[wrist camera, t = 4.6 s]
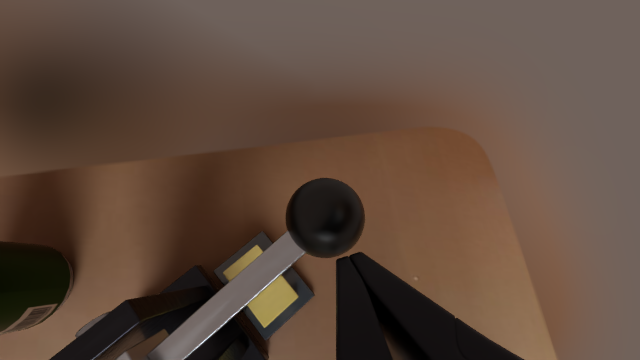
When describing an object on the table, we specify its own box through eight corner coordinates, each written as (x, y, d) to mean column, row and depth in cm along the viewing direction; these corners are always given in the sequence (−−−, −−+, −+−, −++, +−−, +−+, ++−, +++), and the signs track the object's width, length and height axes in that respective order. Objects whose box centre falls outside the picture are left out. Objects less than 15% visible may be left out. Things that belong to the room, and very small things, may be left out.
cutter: (200, 264, 22) (111, 261, 11) (269, 356, 20) (239, 450, 10) (139, 314, 20) (-25, 361, 10) (207, 415, 19) (100, 592, 9)
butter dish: (263, 231, 23) (259, 227, 20) (314, 294, 22) (316, 298, 19) (214, 271, 21) (204, 271, 19) (266, 339, 20) (261, 348, 18)
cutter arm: (330, 170, 14) (326, 153, 11) (377, 221, 13) (387, 220, 10) (116, 357, 13) (46, 398, 10) (155, 419, 13) (94, 481, 10)
